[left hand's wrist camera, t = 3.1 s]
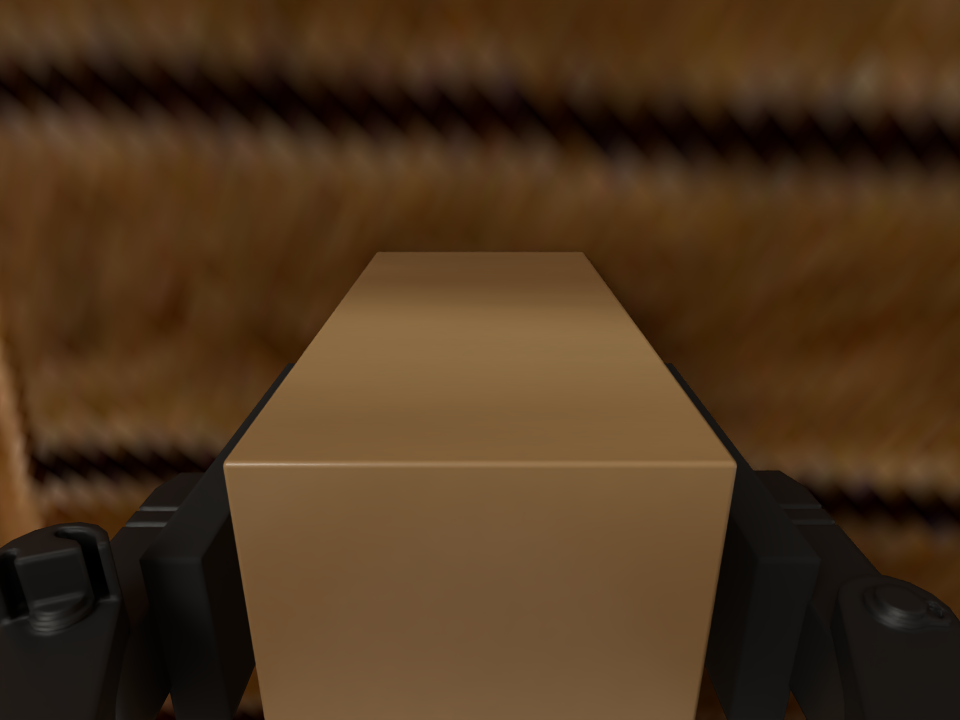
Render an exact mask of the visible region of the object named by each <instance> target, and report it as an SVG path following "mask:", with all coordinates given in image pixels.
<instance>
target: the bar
mask: <svg viewBox="0 0 960 720" xmlns="http://www.w3.org/2000/svg"><path fill="white" fill-rule="evenodd" d="M223 469H224V475H225V481H226V487H227V493H228V499H229V505H230V511H231V517H232V523H233V529H234V535H235V541H236V547H237V553H238V559H239V565H240V572H241V578H242V584H243V590H244V596H245V602H246V608H247V614H248V620H249V626H250V632H251V638H252V644H253V650H254V656H255V662H256V668H257V674H258V680H259V686H260V693H261V699H262V705H263V711H264V717H265V720H695V717H696V711H697V705H698V699H699V693H700V687H701V681H702V675H703V669H704V663H705V657H706V651H707V645H708V639H709V633H710V627H711V621H712V615H713V608H714V602H715V596H716V590H717V584H718V578H719V572H720V566H721V560H722V554H723V548H724V542H725V536H726V530H727V524H728V518H729V512H730V506H731V500H732V494H733V487H734V481H735V475H736V469H737V464H736V461H735V460H734V458H733V457H732V456H731V454H730V453H729V452H728V450H727V449H726V447H725V446H724V445H723V443H722V442H721V441H720V439H719V438H718V436H717V435H716V434H715V432H714V431H713V430H712V428H711V427H710V426H709V424H708V423H707V421H706V420H705V419H704V417H703V416H702V415H701V413H700V412H699V410H698V409H697V408H696V406H695V405H694V404H693V402H692V401H691V400H690V398H689V397H688V395H687V394H686V393H685V391H684V390H683V389H682V387H681V386H680V384H679V383H678V382H677V380H676V379H675V378H674V376H673V375H672V374H671V372H670V371H669V369H668V368H667V367H666V365H665V364H664V363H663V361H662V360H661V358H660V357H659V356H658V354H657V353H656V352H655V350H654V349H653V348H652V346H651V345H650V343H649V342H648V341H647V339H646V338H645V337H644V335H643V334H642V332H641V331H640V330H639V328H638V327H637V326H636V324H635V323H634V322H633V320H632V319H631V317H630V316H629V315H628V313H627V312H626V311H625V309H624V308H623V306H622V305H621V304H620V302H619V301H618V300H617V298H616V297H615V296H614V294H613V293H612V291H611V290H610V289H609V287H608V286H607V285H606V283H605V282H604V280H603V279H602V278H601V276H600V275H599V274H598V272H597V271H596V270H595V268H594V267H593V265H592V264H591V263H590V261H589V260H588V259H587V257H586V256H585V254H584V253H583V252H378V253H376V255H375V256H374V257H373V259H372V260H371V261H370V263H369V264H368V266H367V267H366V268H365V270H364V271H363V272H362V274H361V275H360V277H359V278H358V279H357V281H356V282H355V283H354V285H353V286H352V287H351V289H350V290H349V292H348V293H347V294H346V296H345V297H344V298H343V300H342V301H341V303H340V304H339V305H338V307H337V308H336V309H335V311H334V312H333V313H332V315H331V316H330V318H329V319H328V320H327V322H326V323H325V324H324V326H323V327H322V329H321V330H320V331H319V333H318V334H317V335H316V337H315V338H314V339H313V341H312V342H311V344H310V345H309V346H308V348H307V349H306V350H305V352H304V353H303V354H302V356H301V357H300V359H299V360H298V361H297V363H296V364H295V365H294V367H293V368H292V370H291V371H290V372H289V374H288V375H287V376H286V378H285V379H284V380H283V382H282V383H281V385H280V386H279V387H278V389H277V390H276V391H275V393H274V394H273V396H272V397H271V398H270V400H269V401H268V402H267V404H266V405H265V406H264V408H263V409H262V411H261V412H260V413H259V415H258V416H257V417H256V419H255V420H254V422H253V423H252V424H251V426H250V427H249V428H248V430H247V431H246V432H245V434H244V435H243V437H242V438H241V439H240V441H239V442H238V443H237V445H236V446H235V448H234V449H233V450H232V452H231V453H230V454H229V456H228V457H227V458H226V460H225V461H224V464H223Z"/></svg>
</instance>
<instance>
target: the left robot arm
mask: <svg viewBox="0 0 960 720" xmlns="http://www.w3.org/2000/svg"><path fill="white" fill-rule="evenodd" d="M294 365H295V364H288V365H287V366H286V367H285V369H284V370H283V371H282V372H281V374H280V375H279V376H278V378H277V379H276V380H275V382H274V383H273V384H272V386H271V387H270V388H269V390H268V391H267V392H266V393H265V395H264V396H263V397H262V399H261V400H260V401H259V403H258V404H257V405H256V407H255V408H254V409H253V411H252V412H251V413H250V415H249V416H248V417H247V418H246V420H245V421H244V422H243V424H242V425H241V426H240V428H239V429H238V430H237V432H236V433H235V434H234V436H233V437H232V438H231V439H230V441H229V442H228V443H227V445H226V446H225V447H224V449H223V450H222V451H221V453H220V454H219V455H218V457H217V458H216V459H215V461H214V462H213V463H212V464H211V466H210V467H209V468H208V470H207V471H206V472H205V473H180V474H178V475H177V476H175V477H173V478H172V479H170V480H169V481H167V482H166V483H164V484H162V485H161V486H159V487H158V488H156V489H155V490H154V491H153V492H152V494H151V495H150V496H149V497H148V498H147V499H146V501H145V502H144V503H143V504H142V505H141V506H140V507H139V508H140V509H139V511H136V512H135V513H134V514H133V516H132V517H131V518H130V519H129V520H128V521H127V523H126V527H122V528H121V530H120V531H119V532H118V533H117V534H116V535H115V537H114V538H113V539H112V540H111V541H109V537H108V533H107V532H106V531H105V530H103V529H102V528H101V527H99V526H98V525H94V524H88V523H83V522H77V523H65V524H57V525H53V526H49V527H46V528H42V529H38V530H35V531H32V532H30V533H28V534H26V535H23V536H21V537H19V538H16V539H14V540H12V541H10V542H9V543H7V544H6V545H4V546H3V547H1V548H0V720H155V718H156V717H157V715H158V713H159V711H160V709H161V707H162V705H163V704H164V702H165V700H166V698H167V696H168V694H169V692H170V695H171V699H172V704H173V708H174V712H175V716H176V720H233V718H234V716H235V713H236V711H237V708H238V706H239V703H240V701H241V698H242V696H243V693H244V691H245V688H246V686H247V684H248V681H249V679H250V676H251V674H252V671H253V669H254V666H255V664H256V662H255V656H254V650H253V644H252V638H251V632H250V626H249V620H248V614H247V608H246V602H245V596H244V590H243V584H242V578H241V572H240V565H239V559H238V553H237V547H236V541H235V535H234V529H233V523H232V517H231V511H230V505H229V499H228V493H227V487H226V481H225V475H224V469H223V464H224V461H225V460H226V458H227V457H228V456H229V454H230V453H231V452H232V450H233V449H234V448H235V446H236V445H237V443H238V442H239V441H240V439H241V438H242V437H243V435H244V434H245V432H246V431H247V430H248V428H249V427H250V426H251V424H252V423H253V422H254V420H255V419H256V417H257V416H258V415H259V413H260V412H261V411H262V409H263V408H264V406H265V405H266V404H267V402H268V401H269V400H270V398H271V397H272V396H273V394H274V393H275V391H276V390H277V389H278V387H279V386H280V385H281V383H282V382H283V380H284V379H285V378H286V376H287V375H288V374H289V372H290V371H291V370H292V368H293V367H294ZM665 365H666V367H667V368H668V369H669V371H670V372H671V374H672V375H673V376H674V378H675V379H676V380H677V382H678V383H679V384H680V386H681V387H682V389H683V390H684V391H685V393H686V394H687V395H688V397H689V398H690V400H691V401H692V402H693V404H694V405H695V406H696V408H697V409H698V410H699V412H700V413H701V415H702V416H703V417H704V419H705V420H706V421H707V423H708V424H709V426H710V427H711V428H712V430H713V431H714V432H715V434H716V435H717V436H718V438H719V439H720V441H721V442H722V443H723V445H724V446H725V447H726V449H727V450H728V452H729V453H730V454H731V456H732V457H733V458H734V460H735V461H736V464H737V469H736V475H735V481H734V487H733V494H732V500H731V506H730V512H729V518H728V524H727V530H726V536H725V542H724V548H723V554H722V560H721V566H720V572H719V578H718V584H717V590H716V596H715V602H714V608H713V615H712V621H711V627H710V633H709V639H708V645H707V651H706V657H705V663H704V664H705V666H706V669H707V671H708V674H709V676H710V679H711V681H712V684H713V686H714V688H715V691H716V693H717V696H718V698H719V701H720V703H721V706H722V708H723V711H724V713H725V716H726V718H727V720H784V716H785V712H786V708H787V704H788V699H789V695H790V691H792V693H793V695H794V696H795V698H796V700H797V702H798V704H799V706H800V708H801V709H802V711H803V713H804V715H805V717H806V720H960V621H959V620H958V618H957V617H956V616H955V614H954V613H953V612H952V610H951V609H950V608H949V607H948V606H947V605H945V604H944V603H943V602H942V601H940V600H939V599H938V598H936V597H935V596H934V595H933V594H931V593H929V592H927V591H925V590H923V589H921V588H919V587H917V586H915V585H913V584H911V583H909V582H906V581H903V580H899V579H896V578H893V577H889V576H885V575H881V574H880V573H879V572H878V571H877V569H876V568H875V567H874V566H873V565H872V564H871V562H870V561H869V560H868V559H867V558H866V557H865V556H864V554H863V553H862V552H861V551H860V550H859V549H858V547H857V546H856V545H855V544H854V543H853V542H852V540H851V539H850V538H849V537H848V536H847V535H846V534H845V532H844V531H843V530H842V529H841V528H840V527H839V525H835V523H834V520H833V519H832V517H831V516H830V515H829V514H828V513H827V512H826V510H825V509H821V505H820V504H819V502H818V501H817V500H816V499H815V498H814V497H813V495H812V494H811V493H810V492H809V491H808V490H807V489H806V487H805V486H803V485H801V484H800V483H798V482H797V481H795V480H793V479H792V478H790V477H789V476H787V475H785V474H784V473H782V472H781V471H753V470H752V468H751V467H750V466H749V464H748V463H747V462H746V460H745V459H744V458H743V457H742V455H741V454H740V453H739V451H738V450H737V449H736V447H735V446H734V445H733V443H732V442H731V441H730V439H729V438H728V437H727V436H726V434H725V433H724V432H723V430H722V429H721V428H720V426H719V425H718V424H717V422H716V421H715V420H714V418H713V417H712V416H711V414H710V413H709V412H708V411H707V409H706V408H705V407H704V405H703V404H702V403H701V401H700V400H699V399H698V397H697V396H696V395H695V393H694V392H693V391H692V390H691V388H690V387H689V386H688V384H687V383H686V382H685V380H684V379H683V378H682V376H681V375H680V374H679V372H678V371H677V370H676V369H675V367H674V366H673V365H672V364H665Z"/></svg>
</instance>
